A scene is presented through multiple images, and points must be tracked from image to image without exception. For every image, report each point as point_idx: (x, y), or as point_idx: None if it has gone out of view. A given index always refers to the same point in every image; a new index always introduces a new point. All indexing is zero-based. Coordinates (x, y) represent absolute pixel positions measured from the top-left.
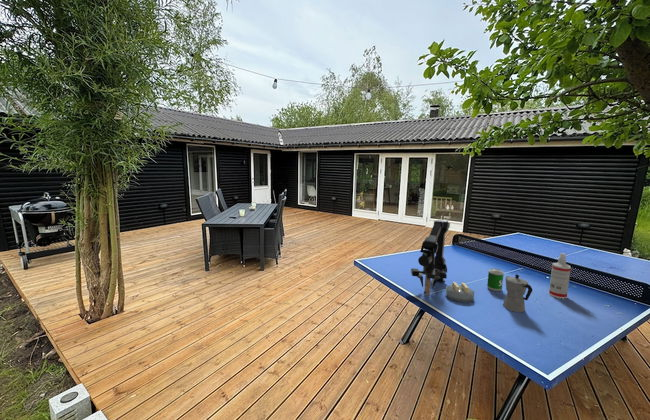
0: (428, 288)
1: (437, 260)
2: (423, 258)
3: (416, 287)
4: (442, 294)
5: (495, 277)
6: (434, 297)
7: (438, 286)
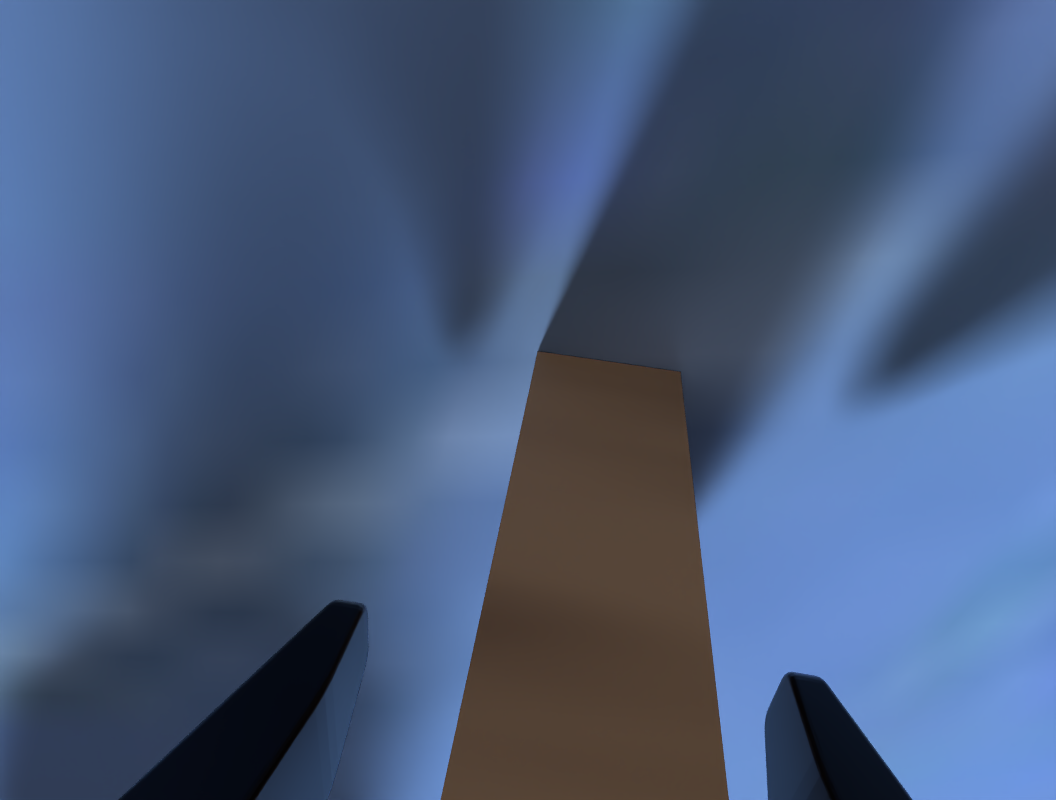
0: (588, 533)
1: None
2: None
3: None
4: (66, 364)
5: None
6: (413, 63)
7: None
